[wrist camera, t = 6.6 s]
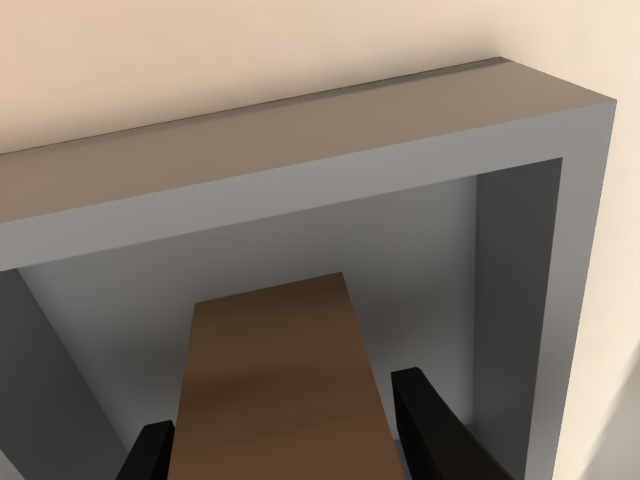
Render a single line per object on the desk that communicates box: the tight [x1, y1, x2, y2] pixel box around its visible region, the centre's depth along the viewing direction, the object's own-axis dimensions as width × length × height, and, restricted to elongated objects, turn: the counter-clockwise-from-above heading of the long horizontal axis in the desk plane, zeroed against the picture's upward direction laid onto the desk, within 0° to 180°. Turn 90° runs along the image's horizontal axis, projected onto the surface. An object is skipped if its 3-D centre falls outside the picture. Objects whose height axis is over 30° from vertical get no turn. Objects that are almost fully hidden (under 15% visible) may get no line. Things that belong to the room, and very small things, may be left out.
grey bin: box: [0, 57, 617, 480], centre depth 12 cm, size 13×13×4 cm
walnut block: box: [167, 272, 405, 480], centre depth 11 cm, size 4×4×6 cm
